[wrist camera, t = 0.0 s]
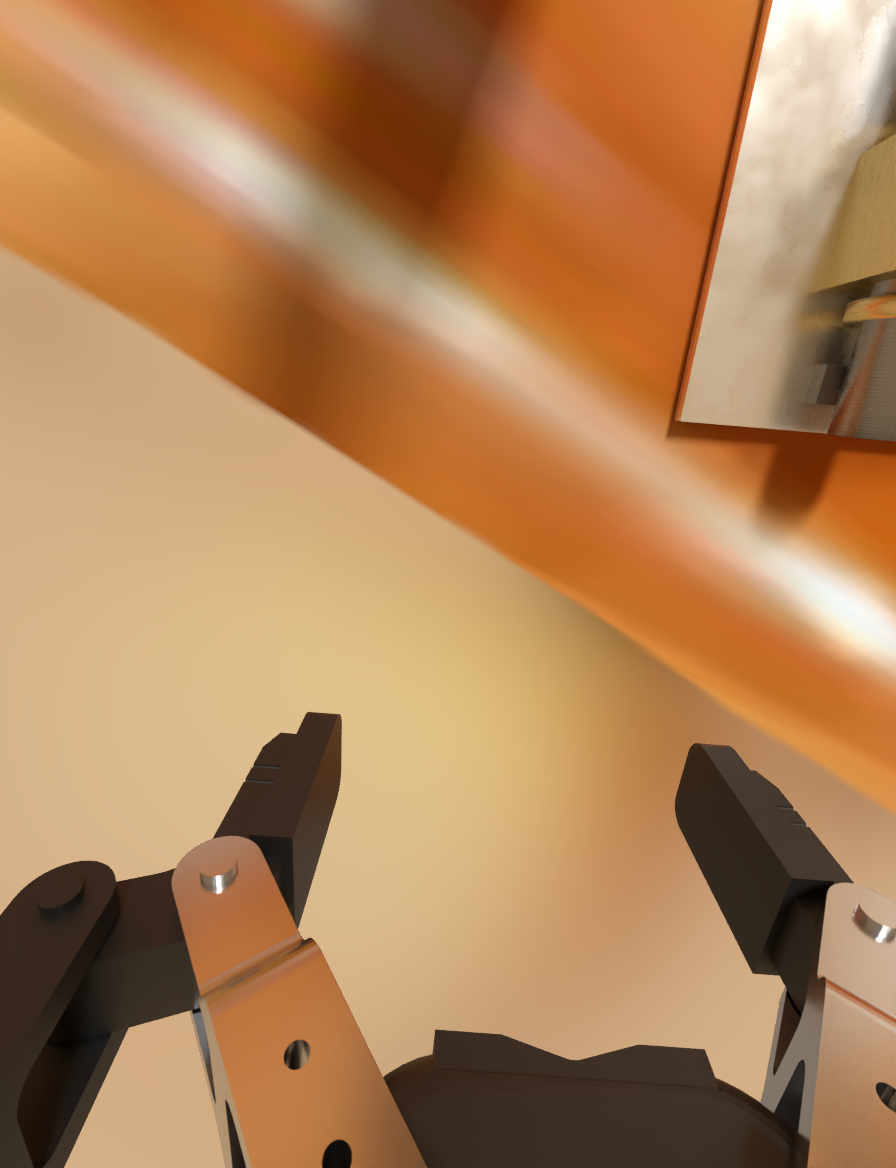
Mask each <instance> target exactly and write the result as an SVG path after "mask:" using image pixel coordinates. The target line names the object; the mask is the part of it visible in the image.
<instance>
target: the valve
mask: <svg viewBox="0 0 896 1168" xmlns="http://www.w3.org/2000/svg"><path fill="white" fill-rule="evenodd" d="M674 420H675V421H683V422H695V423H707V424H719V425H731V426H743V427H755V428H767V429H779V430H791V431H803V432H815V433H827V435H835V436H843V437H853V438H863V439H873V440H884V441H896V0H764V4H763V9H762V13H761V18H760V22H759V27H758V32H757V36H756V41H755V46H754V50H753V55H752V59H751V64H750V69H749V73H748V78H747V83H746V87H745V92H744V96H743V101H742V106H741V110H740V115H739V120H738V124H737V129H736V133H735V138H734V143H733V147H732V152H731V157H730V161H729V166H728V170H727V175H726V180H725V184H724V189H723V194H722V198H721V203H720V207H719V212H718V217H717V221H716V226H715V231H714V235H713V240H712V244H711V249H710V254H709V258H708V263H707V268H706V272H705V277H704V281H703V286H702V291H701V295H700V300H699V305H698V309H697V314H696V318H695V323H694V328H693V332H692V337H691V342H690V346H689V351H688V355H687V360H686V365H685V369H684V374H683V379H682V383H681V388H680V392H679V397H678V402H677V406H676V411H675V416H674Z"/></svg>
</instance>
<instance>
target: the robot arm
mask: <svg viewBox="0 0 896 1168" xmlns="http://www.w3.org/2000/svg"><path fill="white" fill-rule="evenodd" d="M341 731H342V720H341V715H340V714H328V713H327V714H326V713H314V712H308V713H307V714H306V715H305V717H304V719H303V721H302V723H301V726H300V728H299V730H298V732H297V734H289V733H280V734H279V735H277V736H276V737H275V738H274V739H272V740H271V741H270V742H269V743H267V744H266V745H265V746H264V747H263V748H262V750H261V752H260V754H259V755H258V757H257V759H256V761H255V763H254V766H253V768H251V770H250V772H249V774H248V775H247V777H246V781H245V782H244V783H243V785H242V786H241V788H240V790H239V792H238V794H237V796H236V797H235V799H234V801H233V803H232V805H231V806H230V808H229V810H228V812H227V814H226V816H225V817H224V819H223V821H222V823H221V825H220V826H219V828H218V830H217V832H216V834H215V835H214V837H213V839H211V840H208V841H206V842H204V843H202V844H200V845H198V846H197V847H195V848H194V849H192V850H191V851H190V852H189V853H187V854H186V855H185V856H184V857H183V858H182V860H181V861H180V862H179V863H178V865H177V867H176V868H175V869H172V870H169V871H166V872H162V873H158V874H154V875H149V876H144V877H138V878H134V879H128V880H123V881H118V882H116V879H115V875H114V873H113V871H112V869H110V867H109V866H107V865H105V864H103V863H100V862H97V861H79V862H73V863H69V864H66V865H62V866H60V867H57V868H55V869H52V870H50V871H48V872H46V873H44V874H43V875H41V876H39V877H38V878H36V879H35V880H33V881H32V882H31V883H29V884H28V885H27V886H26V887H25V888H24V889H22V890H21V891H20V893H18V894H17V896H16V897H15V898H14V899H13V900H12V901H11V903H10V904H9V905H8V907H7V908H6V909H5V910H4V912H3V913H2V914H1V915H0V1168H64V1166H65V1164H66V1162H67V1160H68V1158H69V1156H70V1153H71V1151H72V1149H73V1147H74V1145H75V1143H76V1140H77V1138H78V1136H79V1134H80V1132H81V1130H82V1127H83V1125H84V1123H85V1121H86V1119H87V1117H88V1114H89V1112H90V1110H91V1108H92V1106H93V1104H94V1101H95V1099H96V1097H97V1094H98V1093H99V1091H100V1088H101V1086H102V1084H103V1082H104V1080H105V1078H106V1075H107V1073H108V1071H109V1069H110V1067H111V1065H112V1062H113V1060H114V1058H115V1056H116V1054H117V1051H118V1050H119V1047H120V1045H121V1043H122V1041H123V1039H124V1037H125V1034H126V1032H127V1030H128V1028H129V1027H132V1026H136V1025H139V1024H143V1023H147V1022H150V1021H153V1020H158V1019H161V1018H165V1017H168V1016H172V1015H175V1014H179V1013H182V1012H186V1011H190V1014H191V1018H192V1022H193V1026H194V1030H195V1035H196V1039H197V1043H198V1047H199V1051H200V1055H201V1059H202V1063H203V1068H204V1071H205V1076H206V1079H207V1084H208V1087H209V1092H210V1096H211V1100H212V1104H213V1108H214V1113H215V1117H216V1122H217V1126H218V1131H219V1136H220V1141H221V1147H222V1152H223V1157H224V1162H225V1167H226V1168H896V903H895V902H894V901H892V900H891V899H889V898H888V897H886V896H884V895H882V894H881V893H879V892H877V891H874V890H872V889H870V888H867V887H864V886H861V885H858V884H854V883H853V881H852V880H851V879H850V878H849V877H848V875H847V874H846V873H845V872H844V870H843V869H842V868H841V866H840V865H839V864H838V863H837V861H836V860H835V859H834V858H833V856H832V855H831V854H830V853H829V851H828V850H827V849H826V848H825V846H824V845H823V844H822V843H821V841H820V840H819V839H818V838H817V836H816V835H815V834H814V833H813V831H812V830H811V829H810V828H809V827H806V823H805V821H804V820H803V819H802V818H801V816H800V815H799V814H798V813H797V811H794V810H793V806H792V805H791V804H790V803H789V801H788V800H787V799H786V798H785V797H784V795H783V794H782V793H781V791H780V790H779V789H778V788H777V787H776V786H774V785H773V784H772V783H771V782H769V781H768V780H767V779H766V778H764V777H763V776H762V775H760V774H759V773H758V772H756V771H751V770H749V768H748V767H747V766H746V765H745V763H744V762H743V760H742V759H741V758H740V757H739V755H738V754H737V753H736V751H735V750H734V749H733V748H732V747H730V746H724V745H711V744H698V743H695V744H693V745H692V746H691V748H690V749H689V752H688V756H687V759H686V763H685V767H684V770H683V774H682V777H681V780H680V784H679V788H678V791H677V795H676V799H675V812H676V818H677V822H678V825H679V827H680V829H681V831H682V833H683V835H684V837H685V839H686V841H687V843H688V845H689V847H690V849H691V851H692V853H693V855H694V857H695V859H696V861H697V863H698V865H699V867H700V869H701V871H702V873H703V875H704V877H705V879H706V881H707V883H708V885H709V887H710V889H711V891H712V893H713V895H714V897H715V899H716V901H717V903H718V905H719V907H720V909H721V911H722V913H723V915H724V917H725V919H726V921H727V923H728V925H729V927H730V929H731V931H732V933H733V935H734V937H735V939H736V941H737V943H738V945H739V947H740V949H741V951H742V953H743V955H744V957H745V959H746V961H747V963H748V965H749V967H750V969H751V971H752V973H753V974H767V975H779V976H780V977H781V979H782V981H783V983H784V984H785V988H784V991H783V993H782V995H781V998H780V1002H779V1008H778V1014H777V1019H776V1024H775V1030H774V1036H773V1041H772V1047H771V1053H770V1058H769V1063H768V1069H767V1074H766V1080H765V1085H764V1090H763V1094H762V1098H761V1102H759V1101H757V1100H756V1099H754V1098H752V1097H751V1096H749V1095H748V1094H746V1093H744V1092H743V1091H741V1090H740V1089H738V1088H736V1087H734V1086H732V1085H730V1084H728V1083H726V1082H724V1081H722V1080H719V1079H717V1078H715V1076H714V1073H713V1070H712V1068H711V1065H710V1062H709V1060H708V1057H707V1054H706V1052H705V1050H704V1049H691V1048H677V1047H664V1046H649V1045H636V1046H632V1047H628V1048H624V1049H621V1050H616V1051H613V1052H609V1053H605V1054H601V1055H598V1056H594V1057H590V1058H586V1059H582V1060H569V1059H566V1058H563V1057H560V1056H558V1055H555V1054H552V1053H550V1052H547V1051H544V1050H541V1049H539V1048H536V1047H533V1046H531V1045H528V1044H526V1043H523V1042H520V1041H518V1040H515V1039H512V1038H509V1037H507V1036H504V1035H501V1034H487V1033H473V1032H460V1031H446V1030H435V1037H434V1046H433V1054H432V1055H428V1056H424V1057H420V1058H417V1059H415V1060H413V1061H410V1062H408V1063H406V1064H403V1065H401V1066H400V1067H398V1068H396V1069H395V1070H393V1071H392V1072H390V1073H388V1074H387V1075H385V1076H384V1077H383V1076H382V1074H381V1072H380V1070H379V1068H378V1066H377V1064H376V1062H375V1060H374V1058H373V1056H372V1054H371V1052H370V1050H369V1048H368V1045H367V1044H366V1041H365V1039H364V1037H363V1035H362V1033H361V1031H360V1029H359V1027H358V1025H357V1023H356V1021H355V1019H354V1017H353V1015H352V1013H351V1011H350V1009H349V1007H348V1005H347V1003H346V1000H345V998H344V996H343V994H342V992H341V990H340V988H339V986H338V984H337V982H336V980H335V978H334V976H333V974H332V972H331V970H330V968H329V966H328V964H327V962H326V959H325V957H324V955H323V953H322V951H321V950H320V948H319V946H318V945H317V943H316V942H315V941H314V940H313V939H312V938H308V939H307V940H304V939H303V938H302V937H301V935H300V933H299V931H298V927H299V924H300V920H301V917H302V914H303V910H304V907H305V904H306V900H307V897H308V894H309V890H310V887H311V883H312V880H313V877H314V873H315V870H316V867H317V863H318V860H319V857H320V854H321V850H322V847H323V844H324V840H325V837H326V833H327V830H328V827H329V823H330V820H331V817H332V813H333V810H334V807H335V803H336V800H337V796H338V791H339V785H340V778H341V735H342V734H341V733H342V732H341Z"/></svg>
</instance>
